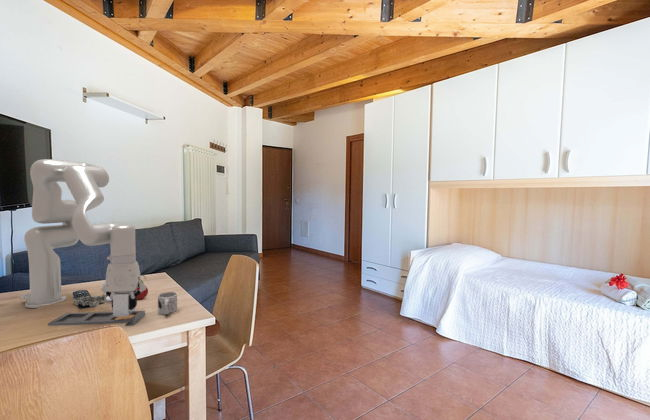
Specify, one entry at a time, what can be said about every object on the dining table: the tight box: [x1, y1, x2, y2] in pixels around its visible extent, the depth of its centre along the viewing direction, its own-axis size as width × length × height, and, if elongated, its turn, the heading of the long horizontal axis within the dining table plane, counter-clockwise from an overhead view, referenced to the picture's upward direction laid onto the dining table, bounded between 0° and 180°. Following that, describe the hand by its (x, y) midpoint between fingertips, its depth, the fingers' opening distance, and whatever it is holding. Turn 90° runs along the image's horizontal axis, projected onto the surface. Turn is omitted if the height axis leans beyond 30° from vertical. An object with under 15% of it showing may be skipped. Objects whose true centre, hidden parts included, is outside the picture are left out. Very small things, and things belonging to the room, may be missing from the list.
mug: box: [157, 291, 178, 316], centre depth 120 cm, size 10×7×7 cm, turn 22°
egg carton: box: [72, 293, 108, 307], centre depth 127 cm, size 11×8×4 cm
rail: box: [47, 310, 146, 327], centre depth 112 cm, size 27×9×2 cm, turn 98°
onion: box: [136, 286, 149, 300], centre depth 133 cm, size 6×6×8 cm
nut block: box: [112, 292, 136, 317], centre depth 112 cm, size 5×5×8 cm
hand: (124, 308), depth 113 cm, fingers closed on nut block, 5 cm apart
